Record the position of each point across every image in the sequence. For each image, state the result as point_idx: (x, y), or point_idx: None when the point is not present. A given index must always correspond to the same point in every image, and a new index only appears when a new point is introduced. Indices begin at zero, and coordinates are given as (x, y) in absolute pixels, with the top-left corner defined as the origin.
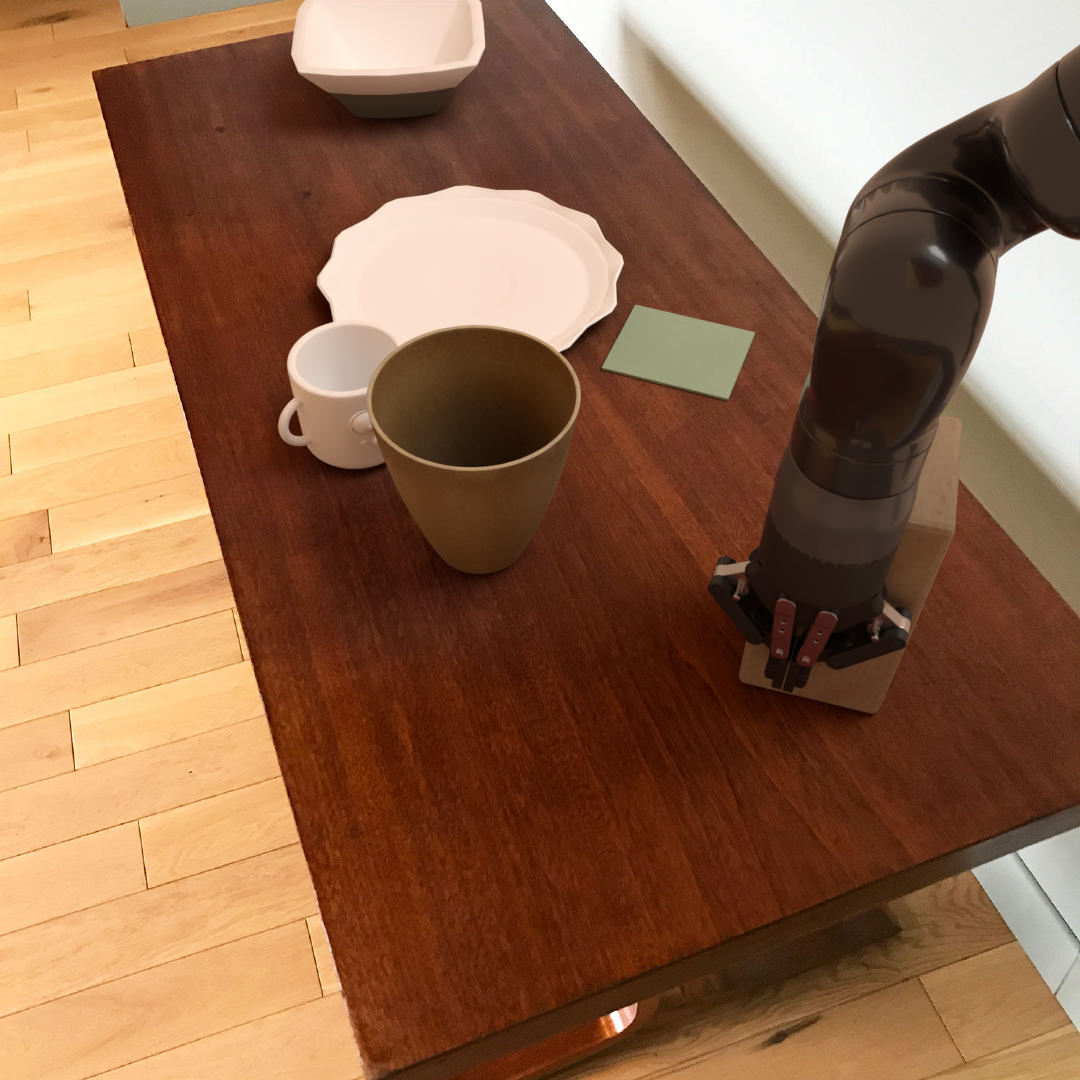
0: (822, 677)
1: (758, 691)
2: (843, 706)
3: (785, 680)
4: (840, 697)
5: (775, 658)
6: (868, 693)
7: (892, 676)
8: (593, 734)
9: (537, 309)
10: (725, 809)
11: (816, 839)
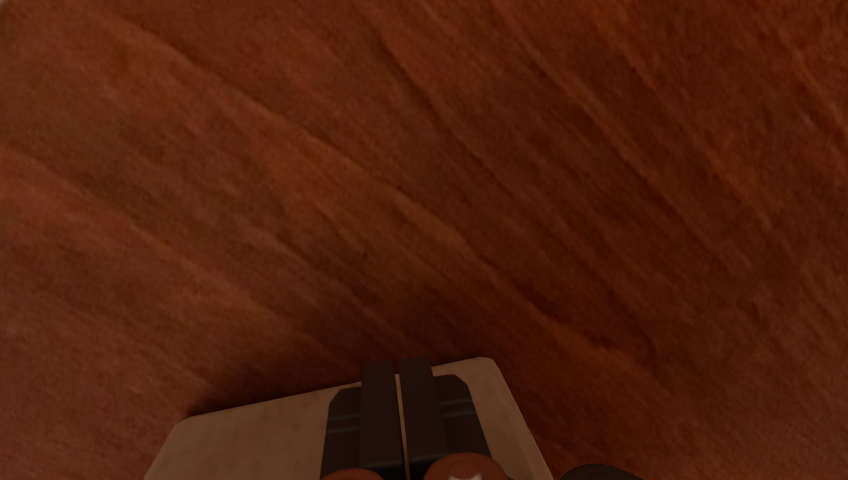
0: (308, 451)
1: (442, 353)
2: (251, 404)
3: (394, 388)
4: (258, 421)
5: (460, 447)
6: (183, 463)
7: None
8: (759, 73)
9: None
10: (406, 17)
11: (168, 38)
